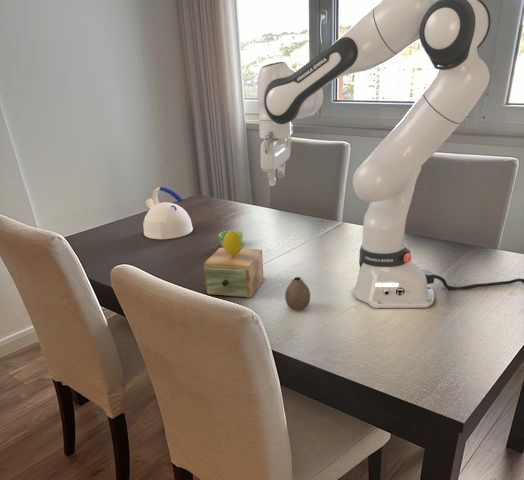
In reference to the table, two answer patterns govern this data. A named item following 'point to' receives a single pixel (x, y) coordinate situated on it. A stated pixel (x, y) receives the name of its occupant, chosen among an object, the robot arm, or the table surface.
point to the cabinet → (240, 265)
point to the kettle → (166, 218)
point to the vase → (297, 295)
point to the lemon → (232, 243)
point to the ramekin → (224, 235)
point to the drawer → (226, 281)
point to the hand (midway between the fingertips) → (276, 181)
